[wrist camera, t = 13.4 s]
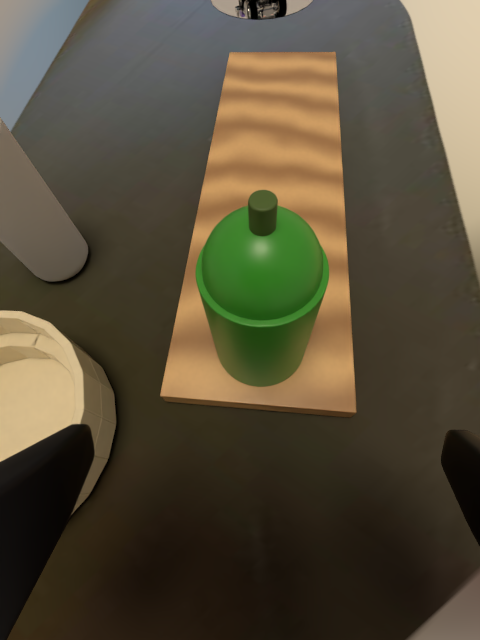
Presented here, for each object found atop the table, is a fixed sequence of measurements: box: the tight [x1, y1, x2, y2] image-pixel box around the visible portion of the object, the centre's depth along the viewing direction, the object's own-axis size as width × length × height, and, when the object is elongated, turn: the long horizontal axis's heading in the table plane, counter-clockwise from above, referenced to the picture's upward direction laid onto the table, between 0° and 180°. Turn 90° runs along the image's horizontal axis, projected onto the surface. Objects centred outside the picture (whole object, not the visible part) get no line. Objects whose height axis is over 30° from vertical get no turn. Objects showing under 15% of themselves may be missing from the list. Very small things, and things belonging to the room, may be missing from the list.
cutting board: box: [160, 52, 356, 418], centre depth 30 cm, size 40×12×2 cm, turn 175°
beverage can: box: [0, 118, 88, 282], centre depth 23 cm, size 5×5×12 cm
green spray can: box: [195, 190, 329, 387], centre depth 17 cm, size 6×6×12 cm
